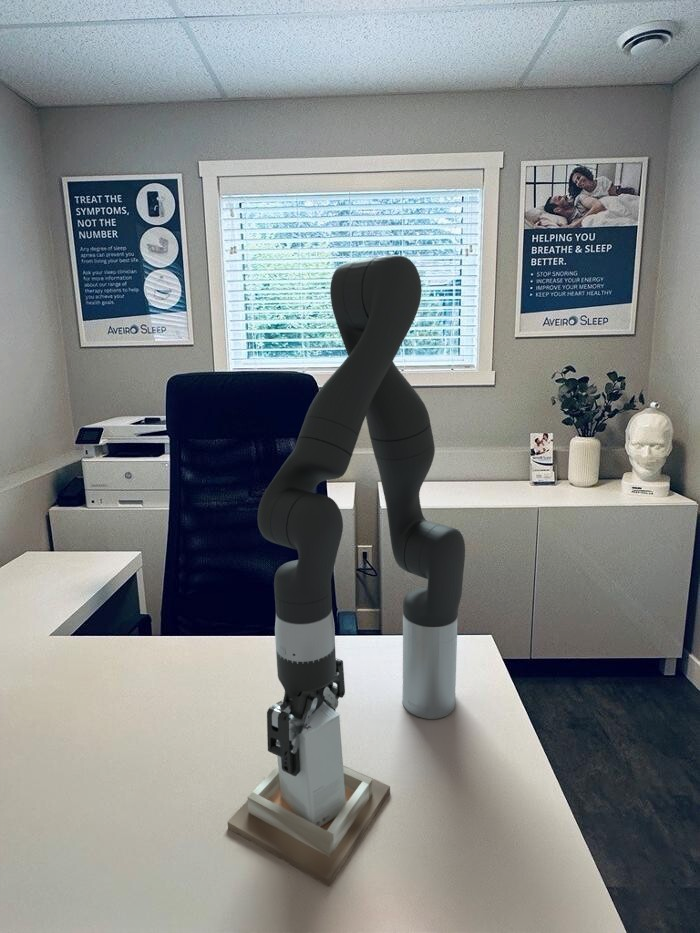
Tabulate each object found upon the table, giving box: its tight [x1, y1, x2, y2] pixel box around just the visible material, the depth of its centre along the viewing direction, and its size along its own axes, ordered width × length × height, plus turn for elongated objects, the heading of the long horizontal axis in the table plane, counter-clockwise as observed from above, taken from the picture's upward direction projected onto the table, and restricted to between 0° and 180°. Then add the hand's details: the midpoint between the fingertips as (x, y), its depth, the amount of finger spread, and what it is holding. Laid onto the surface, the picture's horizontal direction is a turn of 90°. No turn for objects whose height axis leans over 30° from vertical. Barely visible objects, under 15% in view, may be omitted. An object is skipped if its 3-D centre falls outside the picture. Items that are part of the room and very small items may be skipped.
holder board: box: [227, 765, 391, 887], centre depth 75 cm, size 16×16×4 cm
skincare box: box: [271, 699, 346, 827], centre depth 74 cm, size 8×6×15 cm
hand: (310, 750), depth 74 cm, fingers open, 8 cm apart
